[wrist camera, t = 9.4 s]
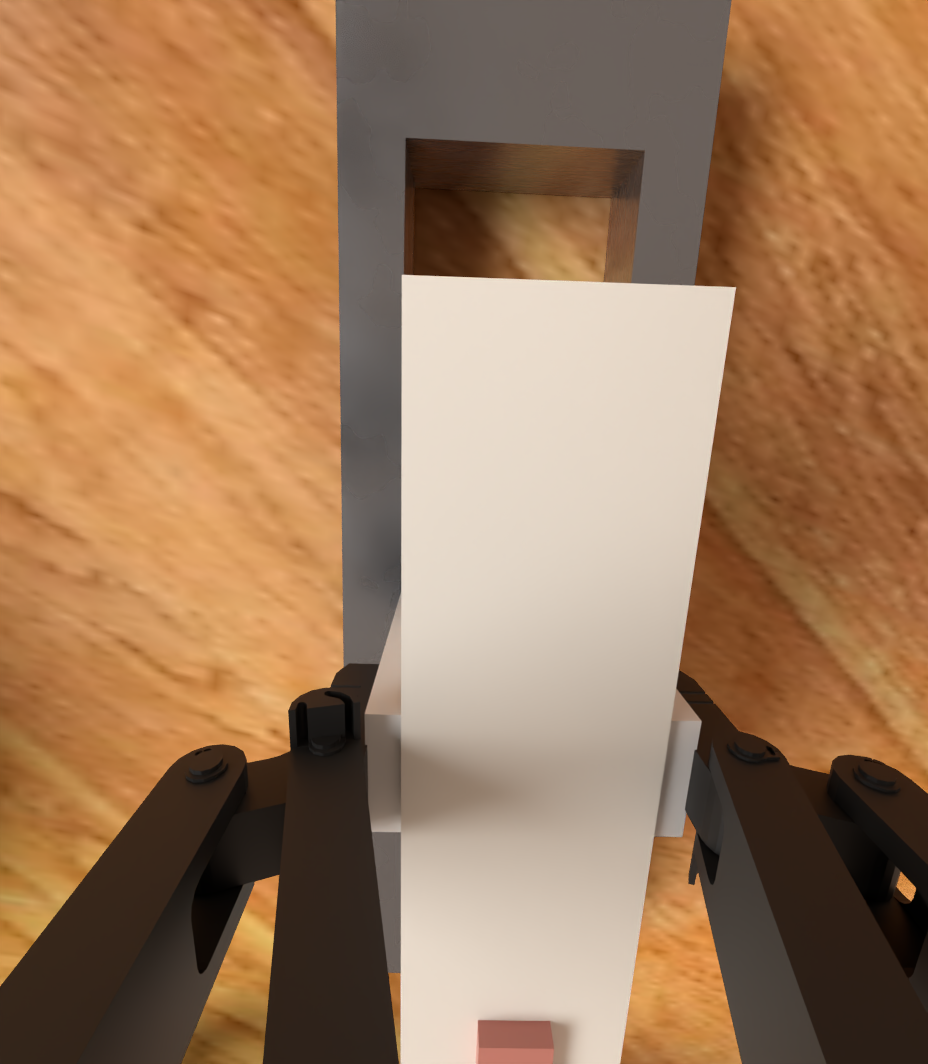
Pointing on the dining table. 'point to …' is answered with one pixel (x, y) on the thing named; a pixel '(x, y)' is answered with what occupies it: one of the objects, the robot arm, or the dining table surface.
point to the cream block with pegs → (541, 645)
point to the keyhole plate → (494, 166)
